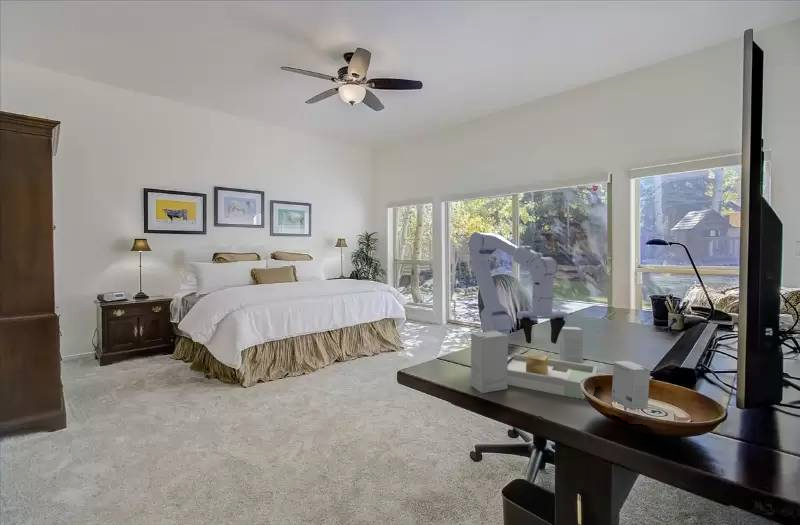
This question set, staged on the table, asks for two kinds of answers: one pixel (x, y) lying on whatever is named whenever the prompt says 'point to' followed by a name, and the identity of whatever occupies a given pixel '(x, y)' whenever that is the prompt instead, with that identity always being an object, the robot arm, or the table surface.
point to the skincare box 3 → (630, 385)
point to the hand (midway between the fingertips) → (541, 342)
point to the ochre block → (536, 363)
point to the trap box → (550, 376)
